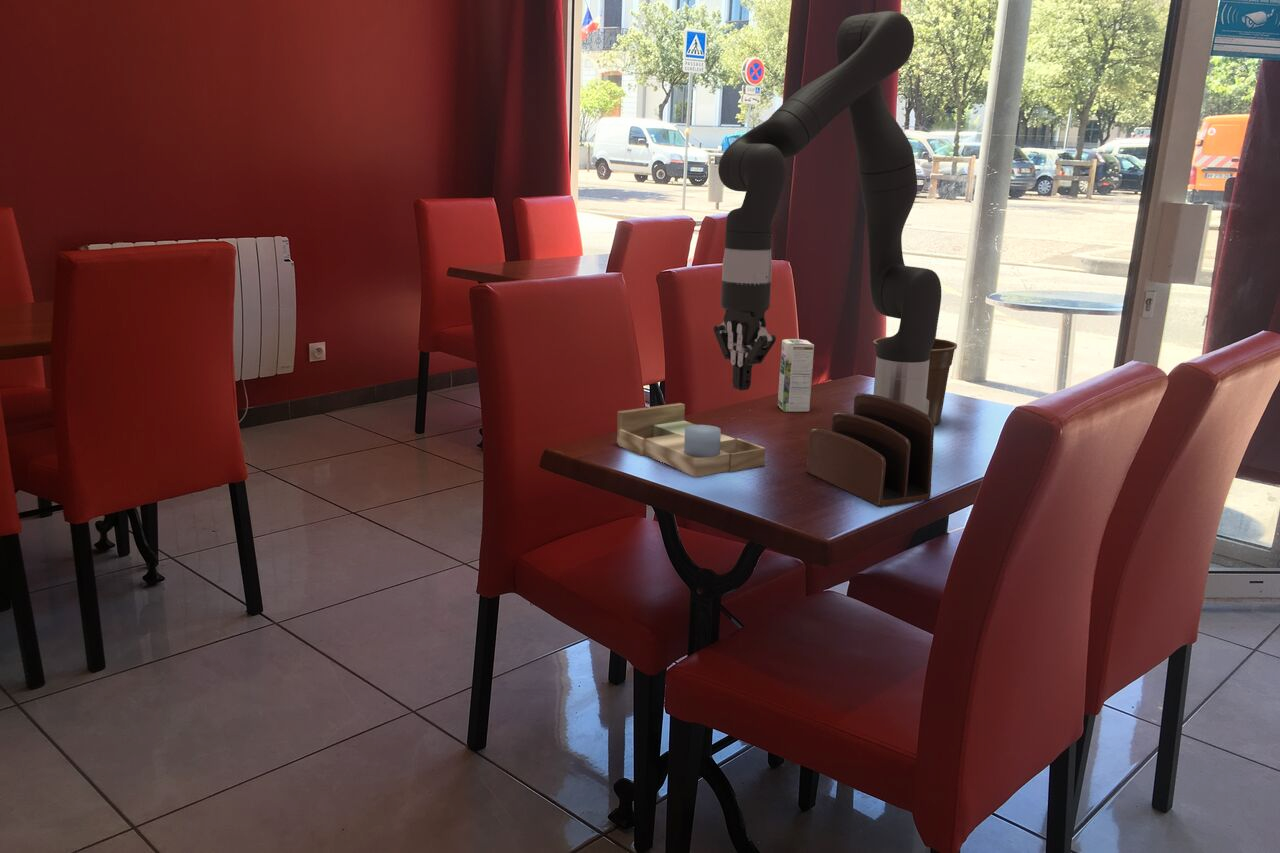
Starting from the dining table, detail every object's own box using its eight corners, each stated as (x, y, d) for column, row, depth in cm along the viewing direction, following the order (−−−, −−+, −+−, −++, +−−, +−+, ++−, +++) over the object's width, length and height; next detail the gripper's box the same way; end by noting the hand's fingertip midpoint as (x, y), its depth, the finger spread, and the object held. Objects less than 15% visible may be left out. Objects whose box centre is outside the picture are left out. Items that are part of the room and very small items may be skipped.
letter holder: (853, 466, 178) (859, 386, 175) (931, 500, 161) (939, 412, 158) (805, 473, 174) (810, 391, 171) (879, 508, 157) (886, 418, 153)
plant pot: (852, 420, 210) (858, 341, 206) (890, 407, 222) (896, 332, 218) (927, 435, 200) (935, 352, 196) (962, 420, 212) (970, 342, 208)
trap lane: (765, 465, 178) (767, 431, 176) (694, 478, 169) (695, 443, 168) (681, 433, 197) (682, 402, 196) (614, 443, 189) (614, 411, 188)
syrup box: (776, 406, 221) (780, 338, 217) (803, 405, 221) (807, 338, 218) (783, 412, 215) (787, 343, 212) (810, 412, 216) (815, 343, 212)
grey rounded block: (705, 445, 178) (706, 423, 177) (727, 454, 173) (728, 431, 172) (677, 450, 174) (677, 427, 173) (698, 459, 170) (699, 435, 169)
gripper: (794, 282, 155) (787, 394, 160) (738, 273, 166) (733, 379, 170) (755, 284, 151) (749, 400, 155) (700, 275, 162) (696, 383, 166)
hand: (741, 388), depth 163 cm, fingers closed
